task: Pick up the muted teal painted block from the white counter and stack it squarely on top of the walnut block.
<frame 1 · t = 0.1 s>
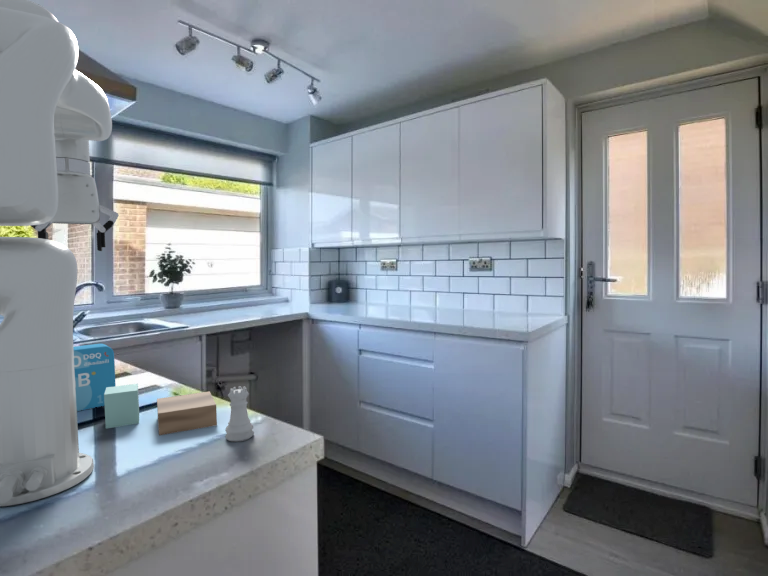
hand: (73, 250, 95), 31 cm above the counter, tool pointing down, fingers open, 9 cm apart
teal block: (123, 421, 79), on the counter
walnut block: (186, 423, 79), on the counter
blue flat box: (79, 409, 87), on the counter
rook chess piece: (239, 438, 72), on the counter
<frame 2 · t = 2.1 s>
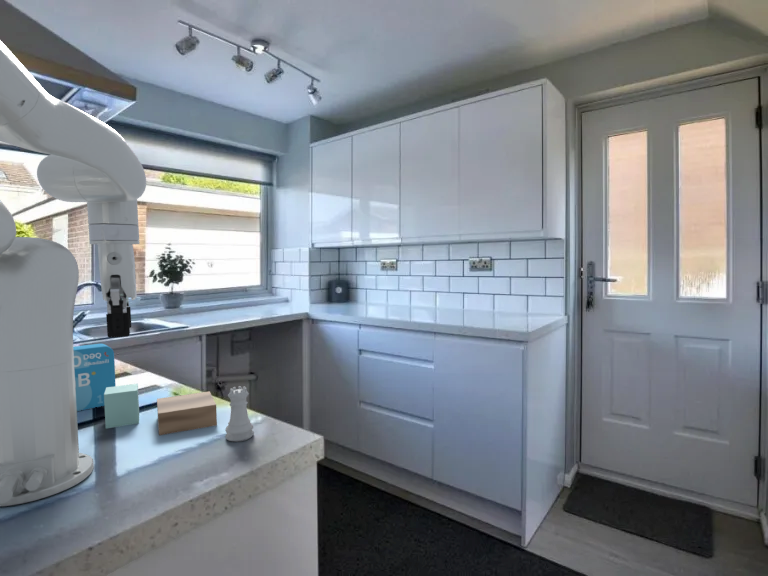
hand: (120, 332, 79), 16 cm above the counter, tool pointing down, fingers open, 9 cm apart
nothing on the counter moved.
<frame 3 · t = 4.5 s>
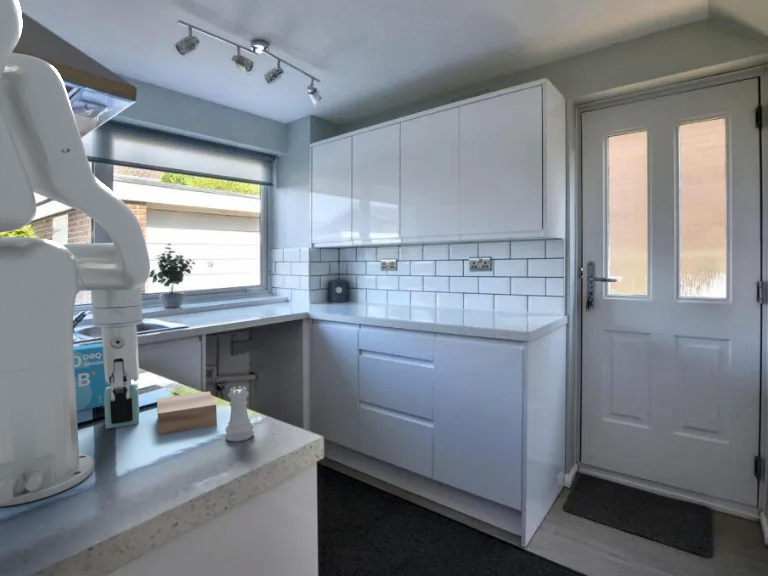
hand: (122, 416, 79), 1 cm above the counter, tool pointing down, fingers closed on teal block, 5 cm apart
teal block: (123, 421, 79), on the counter, touching gripper
everything else where it was.
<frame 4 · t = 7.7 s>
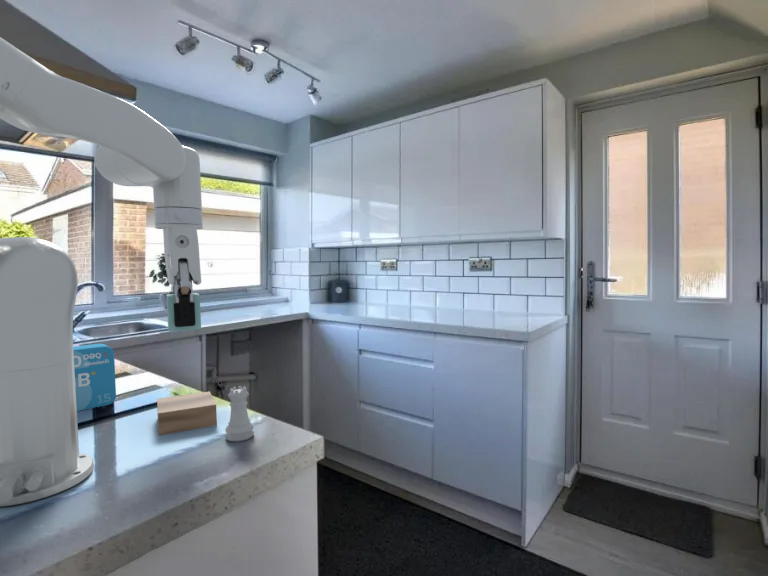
hand: (183, 323, 78), 18 cm above the counter, tool pointing down, fingers closed on teal block, 5 cm apart
teal block: (184, 328, 78), point 17 cm above the counter, touching gripper
everything else where it was.
when the fingers open (5 cm above the counter, at t = 11.2 s): teal block stays where it is, resting on walnut block.
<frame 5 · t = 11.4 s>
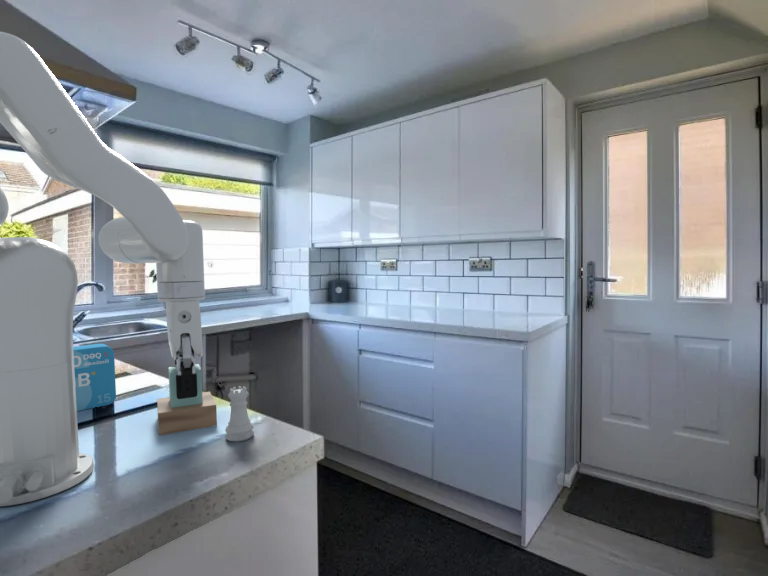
hand: (185, 391, 78), 6 cm above the counter, tool pointing down, fingers open, 7 cm apart
teal block: (185, 401, 79), point 4 cm above the counter, touching walnut block
walnut block: (186, 423, 79), on the counter, touching teal block
everything else where it was.
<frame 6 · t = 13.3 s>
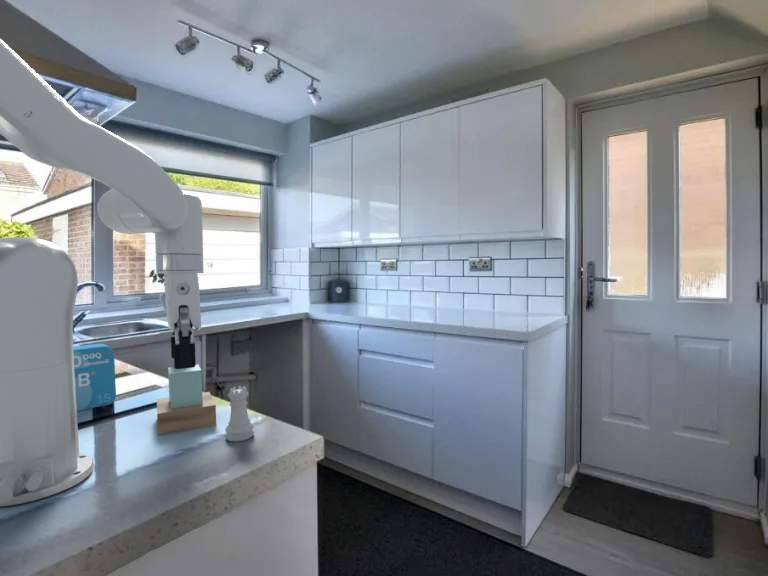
hand: (182, 362, 78), 11 cm above the counter, tool pointing down, fingers open, 9 cm apart
nothing on the counter moved.
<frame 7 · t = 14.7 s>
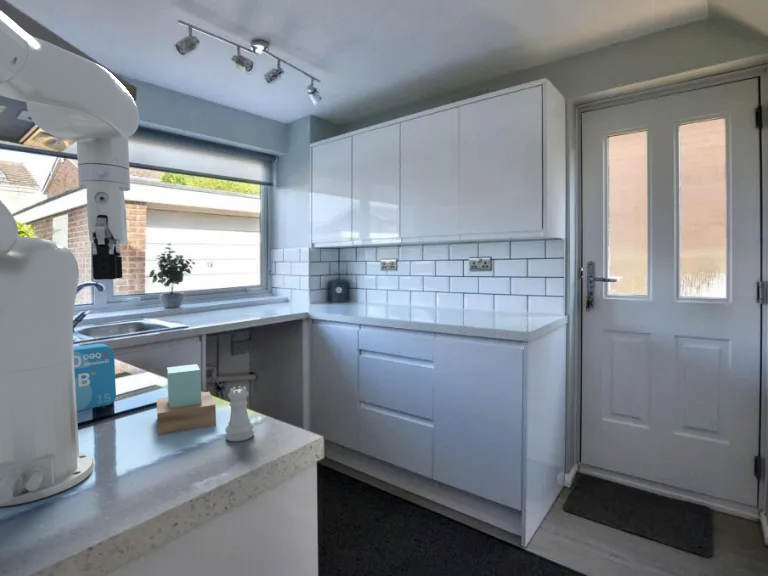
hand: (108, 278, 77), 26 cm above the counter, tool pointing down, fingers open, 9 cm apart
nothing on the counter moved.
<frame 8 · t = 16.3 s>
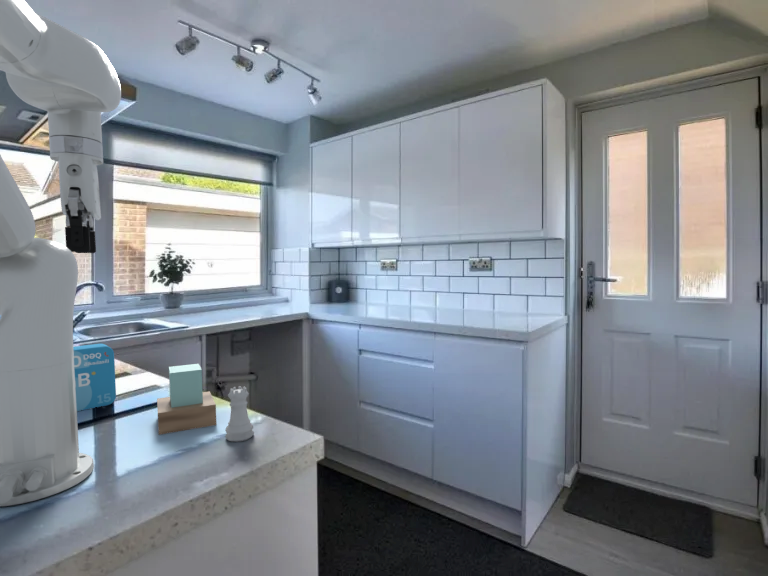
hand: (82, 252, 77), 30 cm above the counter, tool pointing down, fingers open, 9 cm apart
nothing on the counter moved.
at the end: teal block 0.2 cm off-centre on the walnut block, point 4.0 cm above the walnut block's base; teal block tilted 0°; the gripper is holding nothing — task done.
